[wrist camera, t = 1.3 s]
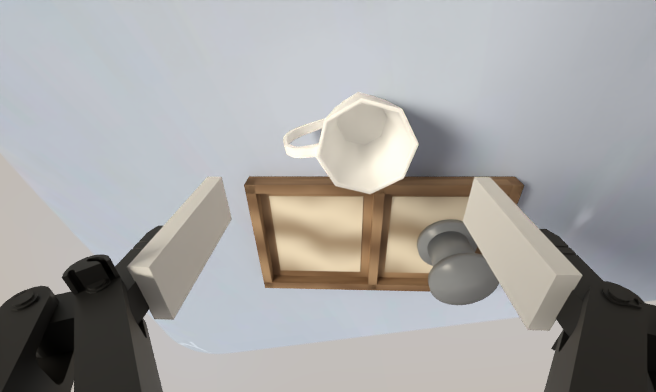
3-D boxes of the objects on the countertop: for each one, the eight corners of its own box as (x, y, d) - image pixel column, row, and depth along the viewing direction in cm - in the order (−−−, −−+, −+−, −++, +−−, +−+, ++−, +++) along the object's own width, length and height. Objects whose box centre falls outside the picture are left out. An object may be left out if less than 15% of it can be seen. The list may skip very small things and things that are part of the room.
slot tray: (249, 176, 30) (244, 184, 29) (514, 176, 29) (524, 185, 27) (268, 276, 38) (265, 287, 37) (477, 281, 37) (483, 292, 35)
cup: (400, 147, 28) (418, 189, 21) (299, 159, 29) (285, 203, 22) (398, 69, 24) (419, 89, 17) (283, 87, 25) (260, 113, 19)
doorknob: (420, 218, 31) (435, 258, 26) (481, 219, 31) (508, 259, 26) (413, 262, 35) (425, 304, 29) (468, 262, 34) (489, 305, 29)
